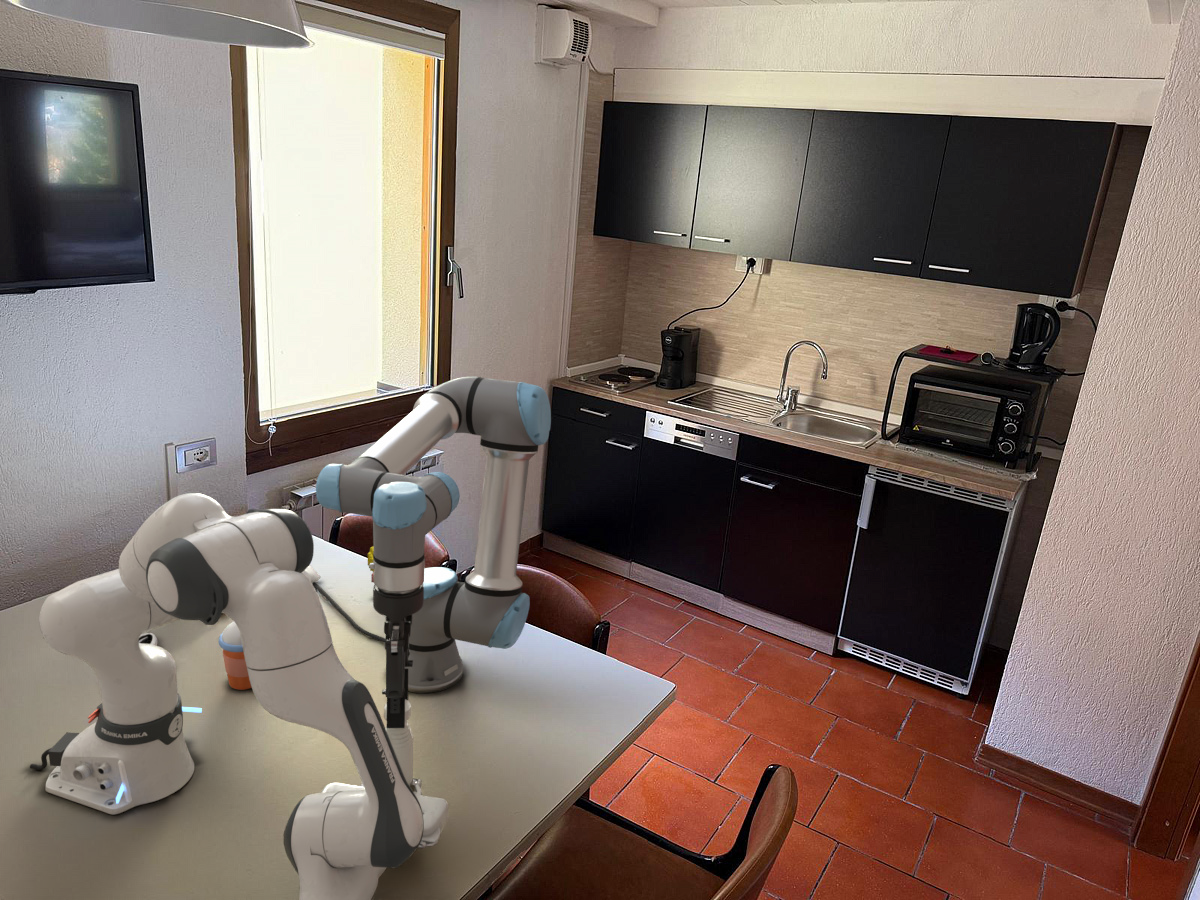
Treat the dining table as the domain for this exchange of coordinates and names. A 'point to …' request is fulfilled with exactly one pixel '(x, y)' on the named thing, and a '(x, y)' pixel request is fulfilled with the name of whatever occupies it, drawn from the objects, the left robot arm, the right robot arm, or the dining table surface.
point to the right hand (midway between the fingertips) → (397, 715)
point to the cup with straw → (234, 657)
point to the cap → (407, 710)
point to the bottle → (403, 748)
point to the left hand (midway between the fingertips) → (398, 779)
